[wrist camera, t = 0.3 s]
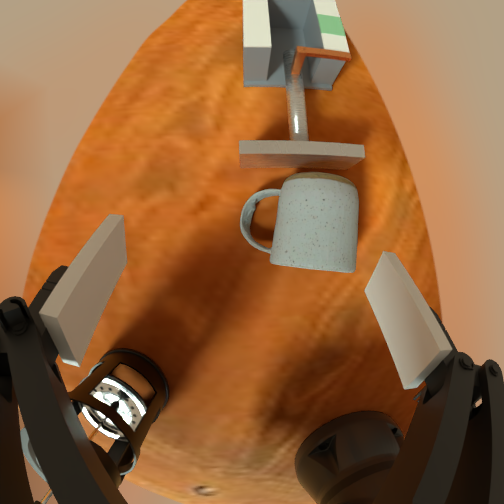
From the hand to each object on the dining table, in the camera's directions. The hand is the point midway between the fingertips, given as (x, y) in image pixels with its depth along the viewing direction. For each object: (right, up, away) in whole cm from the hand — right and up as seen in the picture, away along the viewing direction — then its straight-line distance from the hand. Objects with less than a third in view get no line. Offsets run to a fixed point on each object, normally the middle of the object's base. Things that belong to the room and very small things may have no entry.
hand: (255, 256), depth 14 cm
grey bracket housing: (+4, +24, +14) cm, 28 cm away
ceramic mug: (+4, +3, +15) cm, 16 cm away
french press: (-14, -16, +15) cm, 26 cm away
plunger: (+4, +15, +14) cm, 20 cm away
